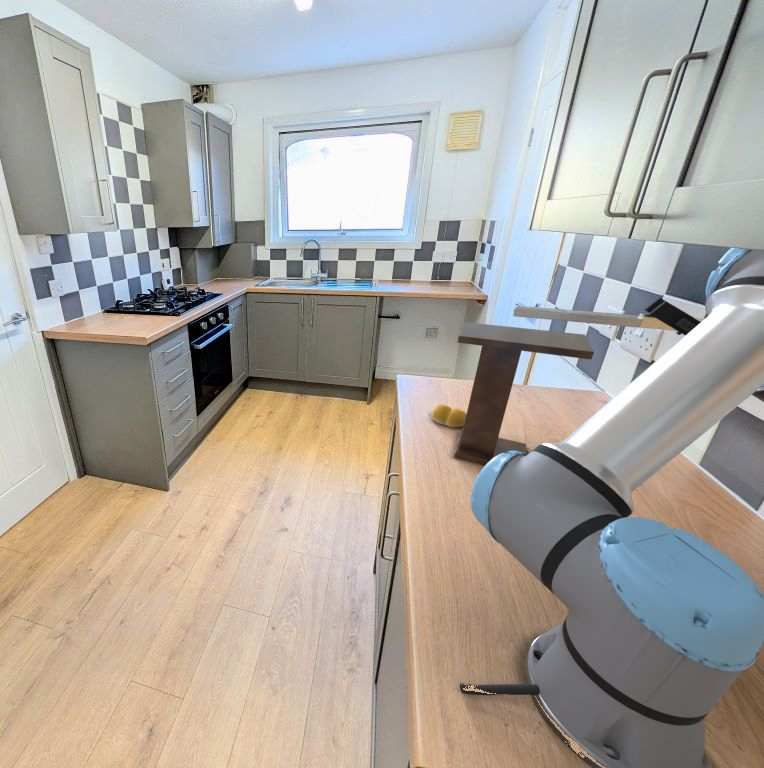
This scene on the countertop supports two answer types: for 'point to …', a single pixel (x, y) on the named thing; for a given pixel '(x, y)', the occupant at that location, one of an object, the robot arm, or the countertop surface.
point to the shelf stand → (503, 381)
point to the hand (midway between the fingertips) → (655, 305)
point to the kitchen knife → (594, 317)
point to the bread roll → (448, 416)
